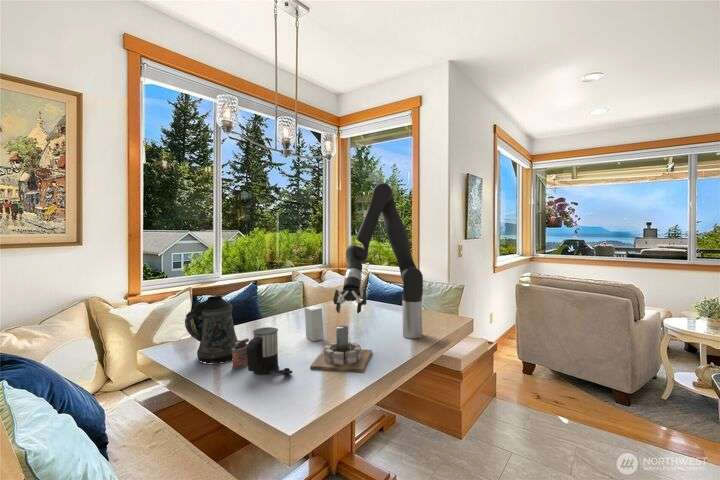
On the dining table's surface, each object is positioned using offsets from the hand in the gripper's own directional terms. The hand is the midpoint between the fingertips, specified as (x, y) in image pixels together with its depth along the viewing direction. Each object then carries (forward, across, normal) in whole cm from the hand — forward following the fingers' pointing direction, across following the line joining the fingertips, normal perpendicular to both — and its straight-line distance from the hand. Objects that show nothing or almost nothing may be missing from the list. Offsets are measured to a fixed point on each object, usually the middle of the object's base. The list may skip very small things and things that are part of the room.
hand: (348, 312), depth 143 cm
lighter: (+26, -38, -3) cm, 46 cm away
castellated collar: (+19, -1, +5) cm, 19 cm away
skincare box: (+1, -20, +23) cm, 31 cm away
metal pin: (+18, -1, +4) cm, 18 cm away
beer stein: (+22, -53, +2) cm, 57 cm away
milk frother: (+29, -23, -5) cm, 38 cm away
